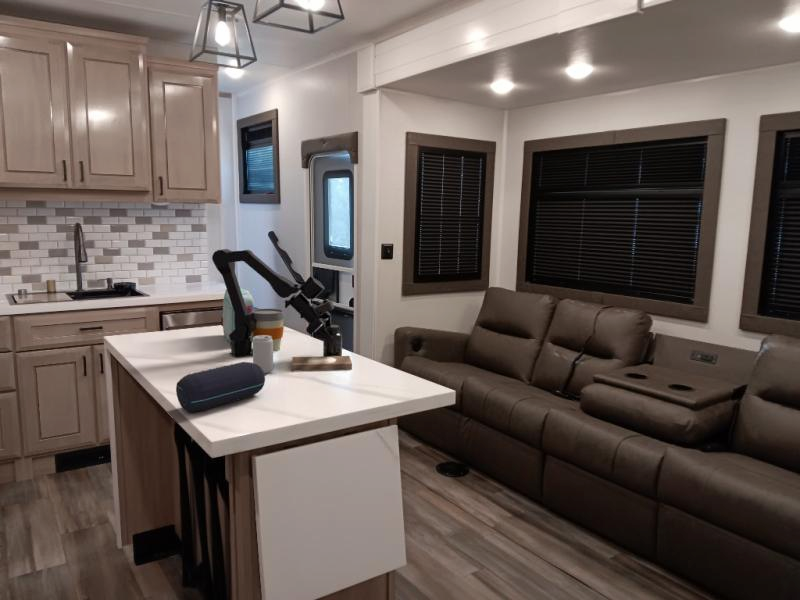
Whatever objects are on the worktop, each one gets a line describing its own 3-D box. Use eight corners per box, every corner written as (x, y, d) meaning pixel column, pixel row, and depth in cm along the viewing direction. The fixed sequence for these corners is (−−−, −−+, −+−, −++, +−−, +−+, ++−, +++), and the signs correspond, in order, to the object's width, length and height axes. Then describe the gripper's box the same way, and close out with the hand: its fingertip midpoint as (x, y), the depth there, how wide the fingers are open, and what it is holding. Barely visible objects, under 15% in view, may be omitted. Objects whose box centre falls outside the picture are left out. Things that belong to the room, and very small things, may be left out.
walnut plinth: (292, 370, 194) (292, 364, 194) (292, 362, 205) (292, 356, 205) (351, 369, 198) (352, 363, 197) (349, 361, 208) (349, 355, 208)
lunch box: (220, 334, 249) (219, 284, 246) (244, 332, 254) (244, 283, 250) (230, 347, 225) (229, 292, 222) (257, 345, 230) (256, 291, 227)
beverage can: (268, 375, 188) (267, 339, 186) (249, 374, 189) (249, 337, 188) (276, 370, 194) (276, 335, 192) (258, 369, 195) (257, 334, 194)
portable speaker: (247, 389, 173) (246, 356, 172) (269, 396, 167) (268, 362, 166) (169, 410, 154) (167, 373, 152) (191, 419, 148) (189, 381, 146)
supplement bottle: (319, 358, 211) (319, 326, 209) (330, 355, 217) (330, 323, 215) (335, 361, 208) (335, 328, 206) (345, 357, 214) (345, 325, 212)
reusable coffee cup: (288, 346, 229) (288, 309, 227) (279, 354, 216) (278, 314, 214) (257, 345, 230) (257, 307, 228) (246, 352, 218) (245, 313, 215)
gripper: (315, 296, 200) (347, 329, 201) (325, 289, 218) (354, 319, 219) (292, 318, 201) (324, 350, 202) (304, 309, 220) (333, 339, 221)
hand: (335, 339), depth 211 cm, fingers open, 9 cm apart
